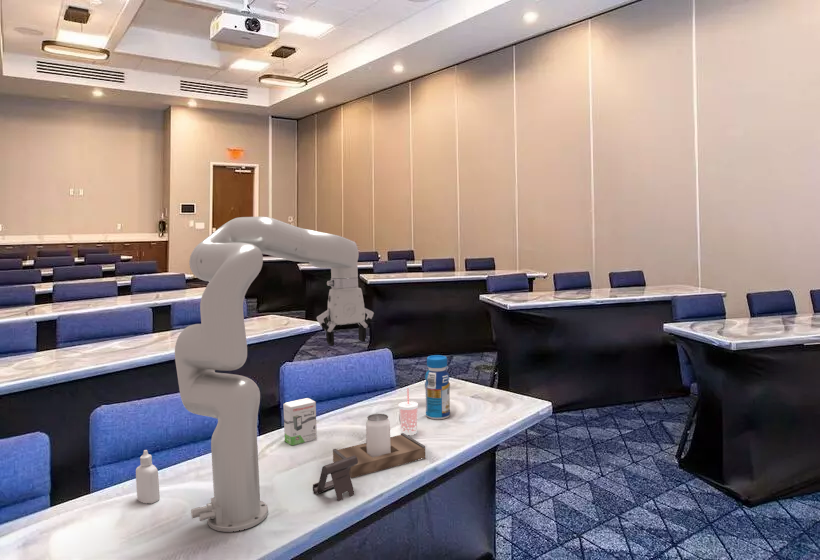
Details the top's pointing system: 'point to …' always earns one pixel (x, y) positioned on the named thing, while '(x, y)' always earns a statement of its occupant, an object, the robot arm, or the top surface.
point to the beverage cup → (408, 416)
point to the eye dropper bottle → (147, 480)
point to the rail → (401, 453)
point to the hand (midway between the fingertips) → (346, 343)
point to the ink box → (300, 421)
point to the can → (378, 435)
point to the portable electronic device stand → (337, 477)
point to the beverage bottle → (437, 388)
